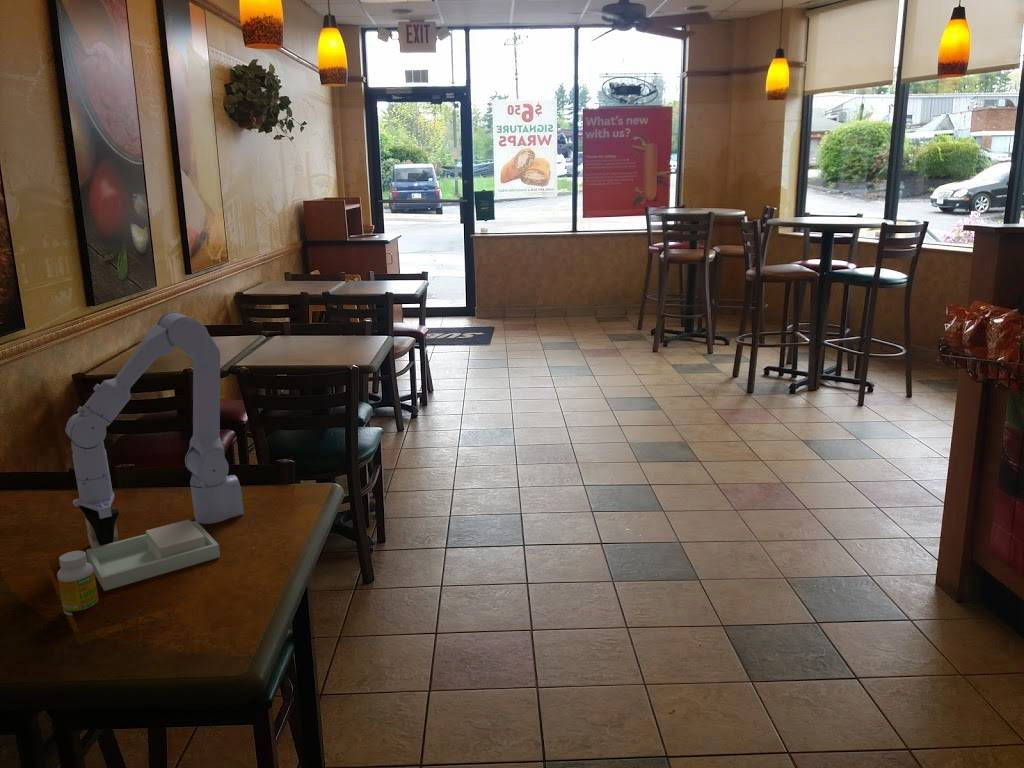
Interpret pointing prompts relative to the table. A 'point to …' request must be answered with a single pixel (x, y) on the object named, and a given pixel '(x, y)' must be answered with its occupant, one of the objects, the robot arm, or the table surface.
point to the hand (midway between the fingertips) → (103, 540)
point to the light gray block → (174, 539)
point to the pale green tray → (142, 560)
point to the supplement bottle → (76, 582)
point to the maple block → (92, 535)
